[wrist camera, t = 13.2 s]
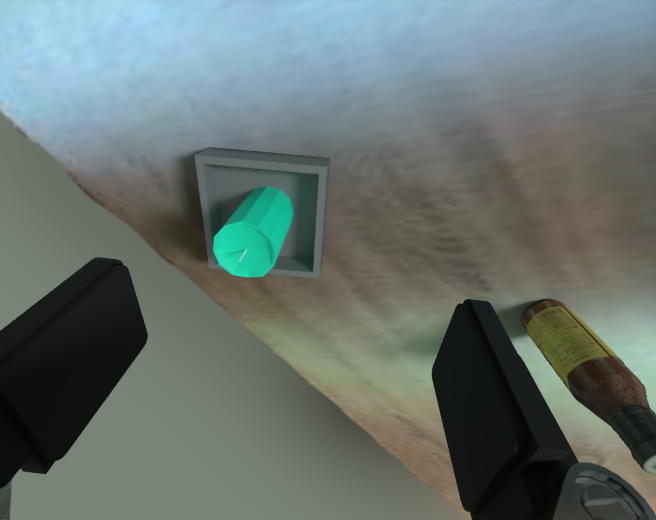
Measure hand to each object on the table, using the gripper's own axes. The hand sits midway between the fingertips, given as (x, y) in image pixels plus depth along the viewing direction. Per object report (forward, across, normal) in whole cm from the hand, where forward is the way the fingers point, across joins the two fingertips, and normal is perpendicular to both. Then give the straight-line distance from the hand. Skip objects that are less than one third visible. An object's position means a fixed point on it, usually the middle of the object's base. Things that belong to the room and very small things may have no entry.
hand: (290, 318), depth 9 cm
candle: (+29, +7, +10) cm, 31 cm away
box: (+29, +7, +10) cm, 32 cm away
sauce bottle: (+30, -31, +22) cm, 48 cm away
